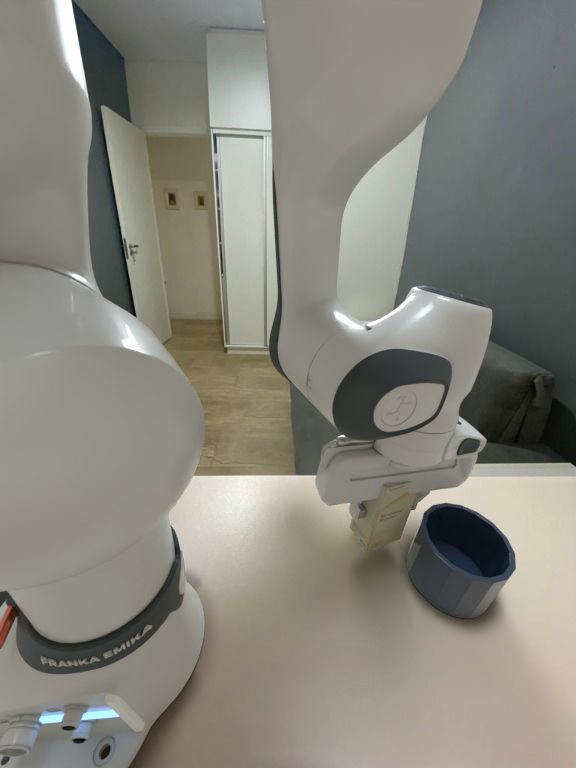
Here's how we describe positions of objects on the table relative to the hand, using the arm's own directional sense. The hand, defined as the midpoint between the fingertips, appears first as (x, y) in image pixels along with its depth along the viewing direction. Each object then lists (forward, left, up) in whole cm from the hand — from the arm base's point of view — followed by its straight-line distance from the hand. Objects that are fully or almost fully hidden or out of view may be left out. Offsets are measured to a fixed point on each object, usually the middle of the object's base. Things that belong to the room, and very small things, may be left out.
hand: (382, 510), depth 43 cm
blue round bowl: (+8, -7, -7) cm, 12 cm away
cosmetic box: (0, 0, -5) cm, 5 cm away
